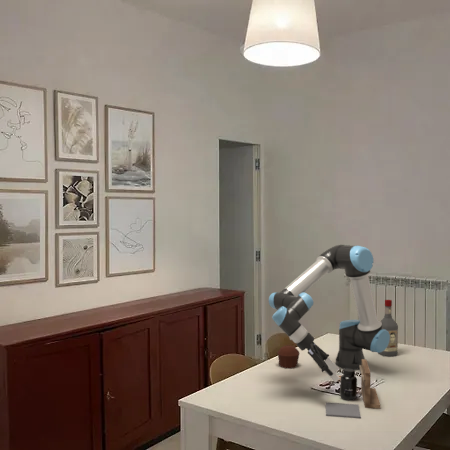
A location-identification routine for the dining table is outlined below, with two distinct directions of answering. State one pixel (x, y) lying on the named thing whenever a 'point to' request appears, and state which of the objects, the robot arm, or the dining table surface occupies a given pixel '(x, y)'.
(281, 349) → the muffin
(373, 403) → the board
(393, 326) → the liquor
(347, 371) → the supplement bottle
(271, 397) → the dining table surface
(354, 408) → the rubber mat
